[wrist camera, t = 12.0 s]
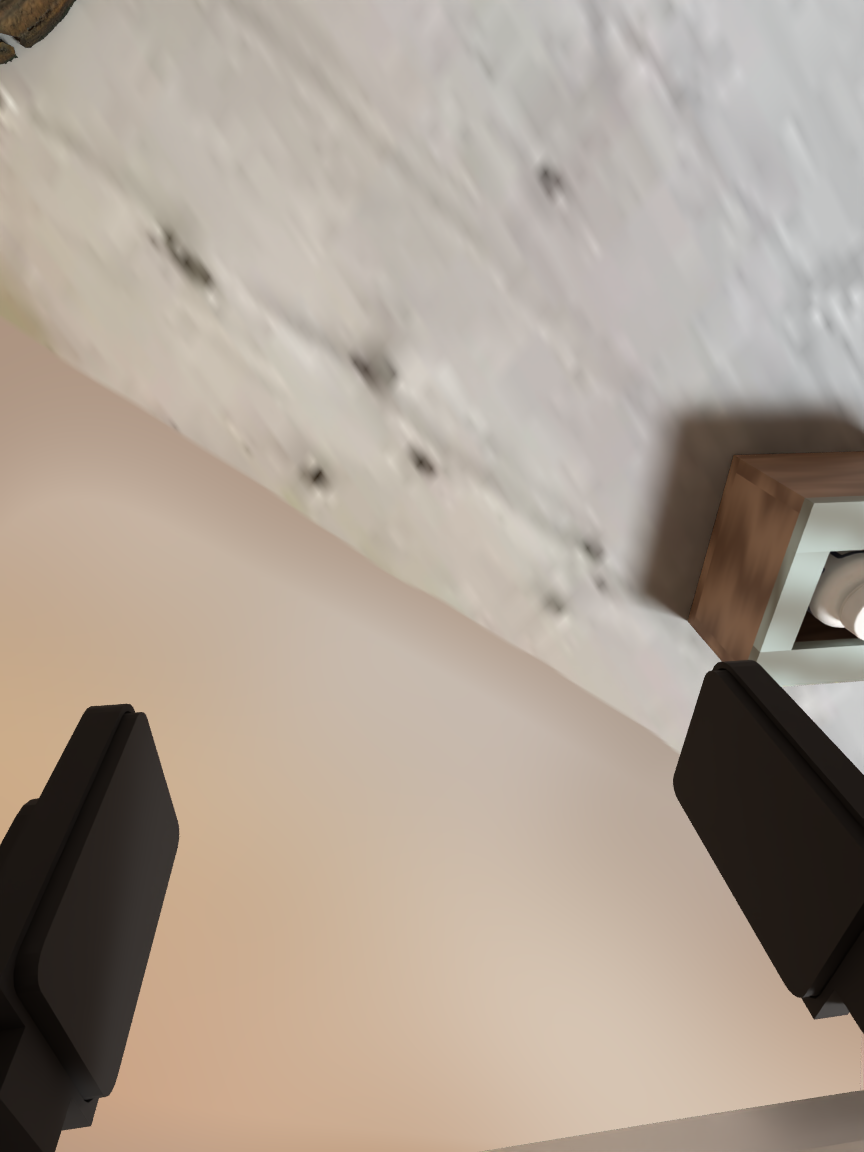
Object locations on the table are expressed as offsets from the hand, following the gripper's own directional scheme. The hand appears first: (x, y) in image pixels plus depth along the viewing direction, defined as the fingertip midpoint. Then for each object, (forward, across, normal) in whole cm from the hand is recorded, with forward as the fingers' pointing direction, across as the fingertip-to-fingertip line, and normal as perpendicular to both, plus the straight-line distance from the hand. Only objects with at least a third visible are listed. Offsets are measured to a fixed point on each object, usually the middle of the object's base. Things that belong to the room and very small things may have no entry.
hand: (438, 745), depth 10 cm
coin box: (+30, -31, +13) cm, 45 cm away
